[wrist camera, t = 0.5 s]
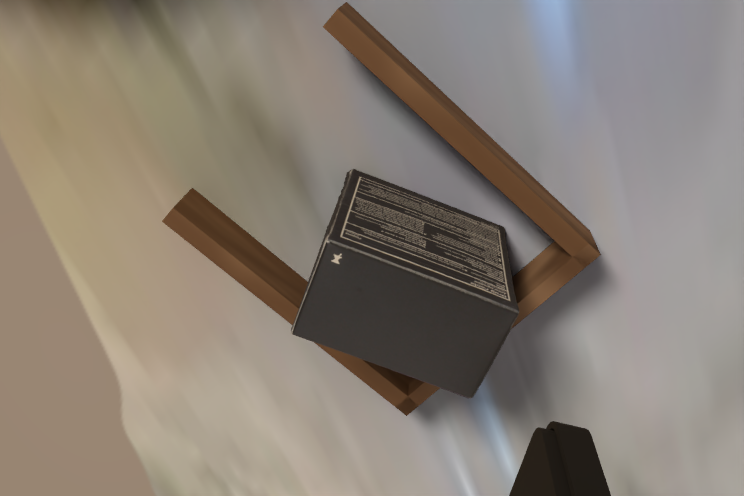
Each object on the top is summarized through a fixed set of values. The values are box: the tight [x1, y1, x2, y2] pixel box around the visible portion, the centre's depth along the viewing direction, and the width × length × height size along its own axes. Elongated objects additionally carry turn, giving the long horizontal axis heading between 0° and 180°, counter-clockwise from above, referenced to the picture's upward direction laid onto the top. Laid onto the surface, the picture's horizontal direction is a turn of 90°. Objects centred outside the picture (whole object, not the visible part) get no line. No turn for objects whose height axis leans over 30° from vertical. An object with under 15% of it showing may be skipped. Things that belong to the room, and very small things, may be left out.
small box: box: [291, 169, 519, 398], centre depth 41 cm, size 11×6×10 cm, turn 70°
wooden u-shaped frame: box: [162, 2, 601, 416], centre depth 43 cm, size 16×20×4 cm
